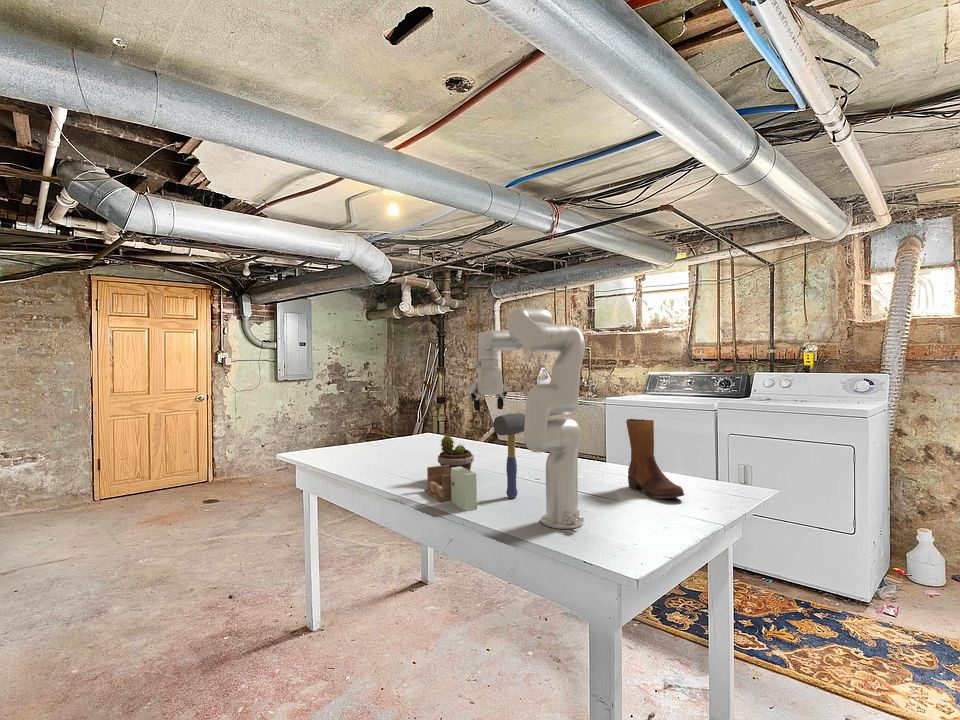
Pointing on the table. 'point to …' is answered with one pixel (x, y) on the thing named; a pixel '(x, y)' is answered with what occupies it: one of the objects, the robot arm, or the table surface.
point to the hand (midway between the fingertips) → (488, 409)
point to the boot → (647, 463)
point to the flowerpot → (454, 454)
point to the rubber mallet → (510, 445)
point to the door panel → (463, 488)
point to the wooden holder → (439, 483)
